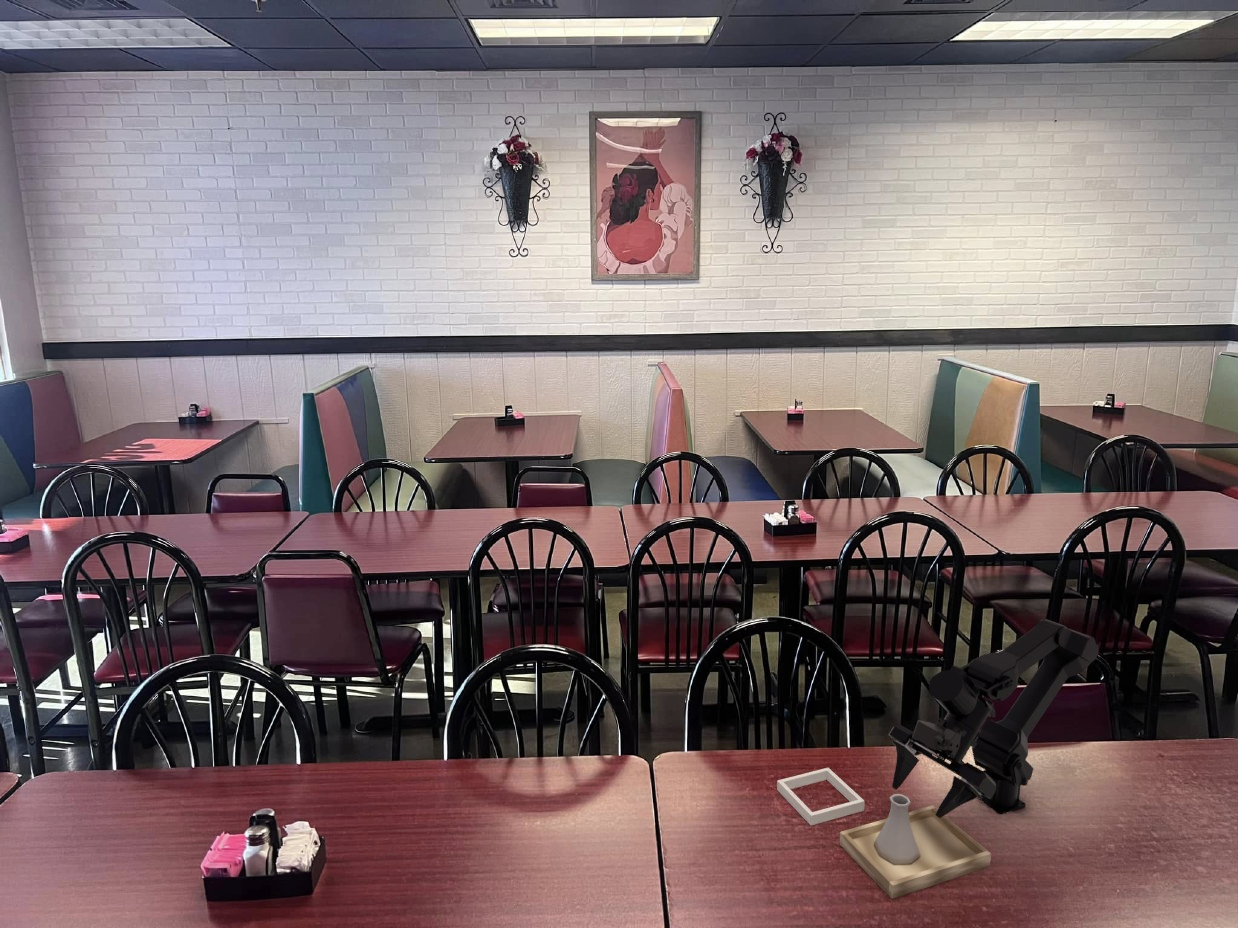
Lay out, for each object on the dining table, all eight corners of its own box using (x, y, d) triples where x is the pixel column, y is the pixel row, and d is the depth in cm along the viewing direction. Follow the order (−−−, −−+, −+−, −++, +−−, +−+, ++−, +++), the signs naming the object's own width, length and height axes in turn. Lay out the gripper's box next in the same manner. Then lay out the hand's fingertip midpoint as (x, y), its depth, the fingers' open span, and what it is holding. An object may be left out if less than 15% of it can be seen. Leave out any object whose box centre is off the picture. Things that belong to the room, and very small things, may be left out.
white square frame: (827, 776, 164) (828, 767, 163) (864, 810, 153) (864, 800, 153) (777, 789, 160) (777, 780, 160) (810, 825, 149) (811, 815, 149)
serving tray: (931, 817, 151) (932, 805, 151) (989, 866, 138) (991, 853, 138) (839, 844, 144) (840, 831, 144) (891, 898, 131) (892, 885, 131)
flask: (928, 859, 139) (932, 806, 137) (892, 870, 136) (896, 816, 134) (900, 832, 145) (903, 782, 143) (865, 842, 143) (868, 791, 141)
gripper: (898, 682, 148) (851, 756, 145) (990, 729, 132) (940, 813, 129) (925, 709, 154) (881, 781, 151) (1017, 757, 138) (969, 839, 135)
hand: (915, 802), depth 141 cm, fingers open, 9 cm apart
